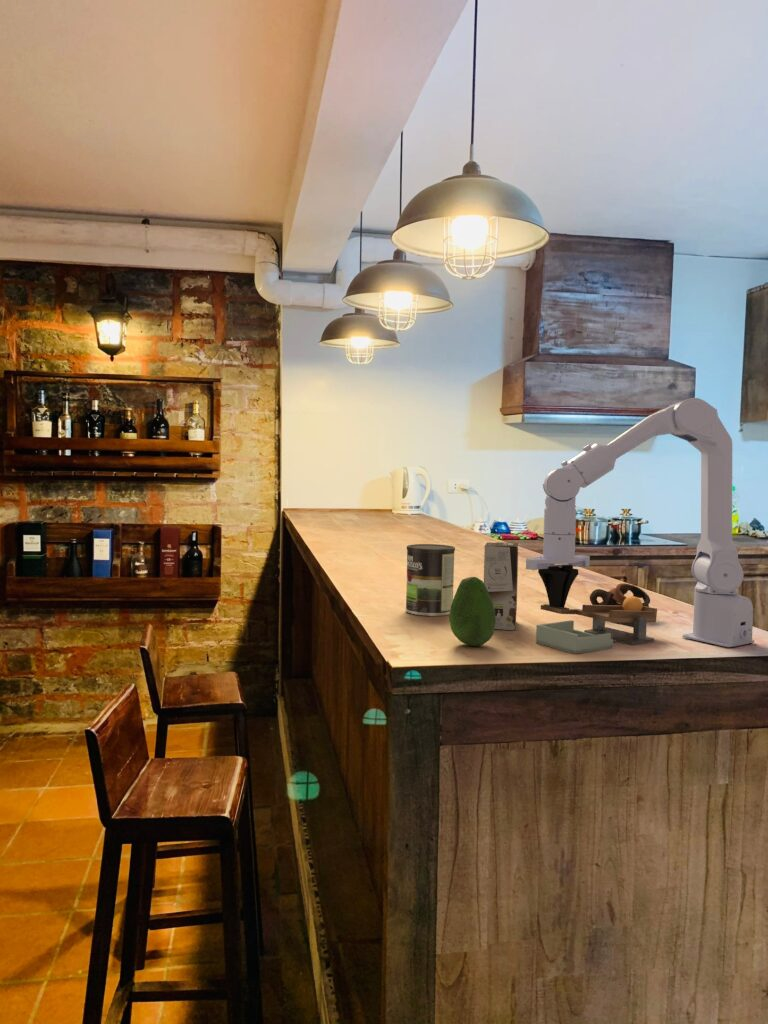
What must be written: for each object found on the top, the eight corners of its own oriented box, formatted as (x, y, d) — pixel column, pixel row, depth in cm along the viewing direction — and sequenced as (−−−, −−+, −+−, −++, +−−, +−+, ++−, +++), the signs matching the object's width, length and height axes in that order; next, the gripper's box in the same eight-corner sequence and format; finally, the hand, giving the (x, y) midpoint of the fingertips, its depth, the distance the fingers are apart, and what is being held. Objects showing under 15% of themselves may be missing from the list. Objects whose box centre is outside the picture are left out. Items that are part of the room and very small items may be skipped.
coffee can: (419, 618, 153) (420, 549, 153) (397, 609, 163) (398, 544, 162) (462, 614, 158) (464, 548, 157) (438, 606, 167) (440, 543, 166)
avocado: (465, 638, 135) (466, 572, 134) (503, 645, 130) (504, 576, 129) (439, 646, 129) (440, 576, 128) (478, 653, 124) (480, 581, 123)
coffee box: (515, 631, 142) (517, 546, 141) (481, 629, 143) (483, 545, 143) (517, 621, 151) (518, 541, 150) (484, 619, 152) (486, 540, 151)
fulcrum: (654, 641, 135) (654, 617, 134) (631, 645, 131) (632, 620, 131) (606, 630, 144) (606, 607, 144) (584, 633, 141) (584, 610, 140)
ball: (646, 615, 139) (646, 597, 139) (633, 617, 137) (634, 598, 137) (630, 612, 142) (631, 594, 142) (618, 614, 140) (619, 595, 140)
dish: (612, 647, 129) (613, 629, 129) (575, 654, 124) (575, 634, 124) (573, 637, 137) (573, 620, 137) (536, 642, 132) (536, 624, 132)
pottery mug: (632, 615, 162) (648, 585, 158) (641, 643, 154) (659, 612, 150) (579, 601, 162) (595, 570, 158) (586, 628, 154) (602, 597, 149)
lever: (656, 627, 137) (658, 608, 137) (597, 627, 129) (599, 607, 129) (597, 614, 149) (599, 597, 149) (540, 613, 141) (541, 595, 141)
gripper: (571, 531, 146) (568, 600, 147) (515, 533, 138) (513, 606, 139) (599, 534, 140) (596, 606, 141) (542, 536, 132) (540, 612, 133)
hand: (557, 606), depth 139 cm, fingers closed, pressing on lever
